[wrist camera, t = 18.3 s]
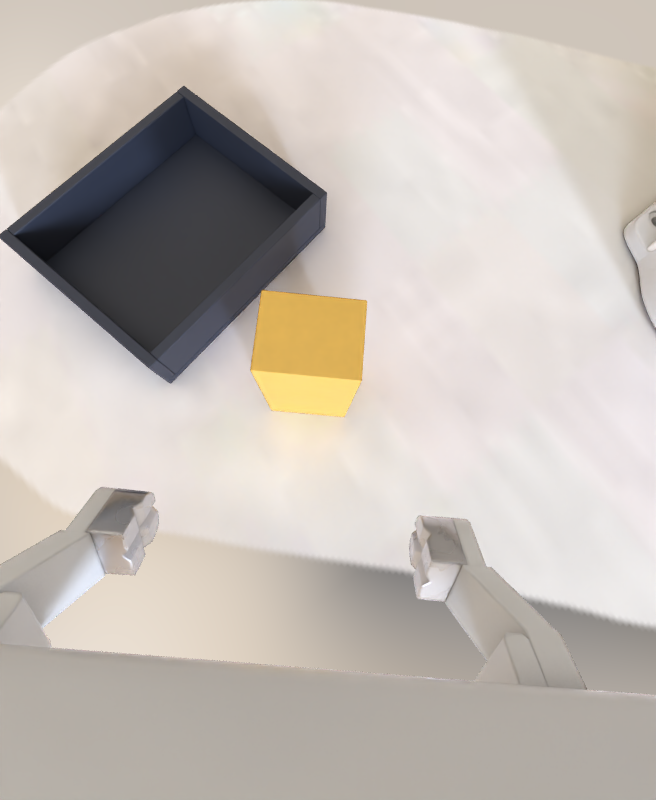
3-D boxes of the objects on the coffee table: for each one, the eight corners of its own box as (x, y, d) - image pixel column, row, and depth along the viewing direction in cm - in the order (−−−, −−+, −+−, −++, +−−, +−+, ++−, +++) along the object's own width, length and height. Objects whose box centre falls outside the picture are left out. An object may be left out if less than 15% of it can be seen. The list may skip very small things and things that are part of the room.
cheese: (348, 361, 26) (367, 300, 18) (344, 417, 26) (361, 381, 17) (277, 354, 26) (261, 289, 18) (271, 410, 25) (250, 370, 17)
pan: (198, 130, 30) (183, 85, 27) (325, 227, 29) (327, 192, 25) (36, 267, 27) (-4, 235, 24) (170, 383, 26) (149, 368, 22)
